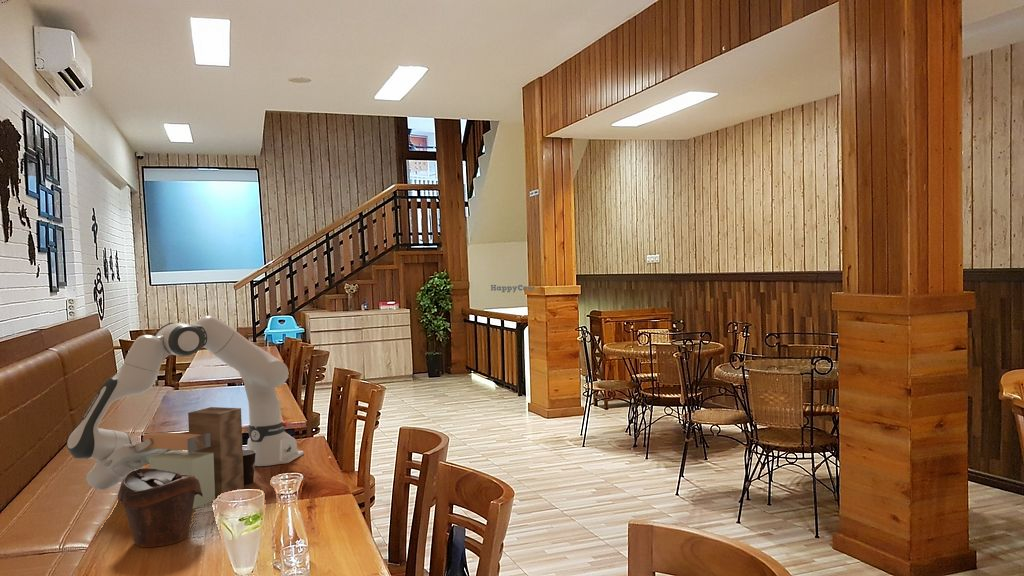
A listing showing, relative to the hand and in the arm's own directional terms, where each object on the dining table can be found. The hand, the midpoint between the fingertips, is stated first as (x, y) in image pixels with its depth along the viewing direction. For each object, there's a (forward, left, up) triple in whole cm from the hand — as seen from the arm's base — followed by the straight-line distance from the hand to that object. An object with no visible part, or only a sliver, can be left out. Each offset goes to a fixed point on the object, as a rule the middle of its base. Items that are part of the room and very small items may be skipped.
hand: (158, 438), depth 223 cm
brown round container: (+27, +27, -19) cm, 43 cm away
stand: (-12, +11, -19) cm, 25 cm away
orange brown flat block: (0, +6, -2) cm, 7 cm away
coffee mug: (-24, +12, -19) cm, 33 cm away
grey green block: (0, +9, -19) cm, 21 cm away
